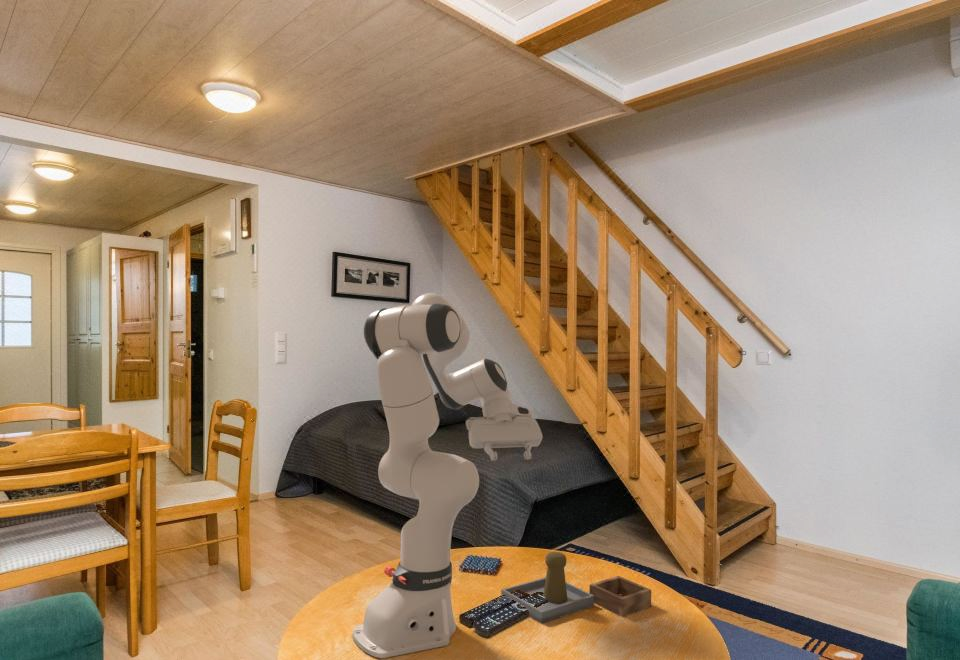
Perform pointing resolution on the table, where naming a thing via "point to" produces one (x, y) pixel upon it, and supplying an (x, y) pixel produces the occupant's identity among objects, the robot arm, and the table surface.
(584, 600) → the tray
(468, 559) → the woven mat
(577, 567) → the table surface
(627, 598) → the holder
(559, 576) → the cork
